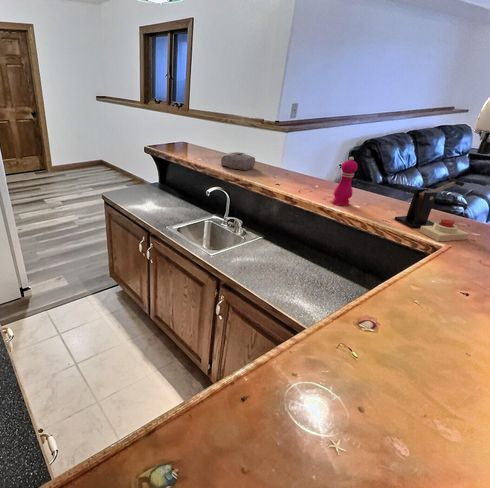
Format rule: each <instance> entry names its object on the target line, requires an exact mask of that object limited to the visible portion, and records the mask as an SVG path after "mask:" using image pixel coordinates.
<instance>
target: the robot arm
mask: <svg viewBox="0 0 490 488" xmlns="http://www.w3.org/2000/svg"><path fill="white" fill-rule="evenodd" d="M474 128H475V129H474V131H473V132H474V133H475V134H477V135H478V136H479V141H480V143H479V146H478V148H477V151H476V154H480V155H489V154H490V97H488V98H487V99H486V100H485V103H484V104H483V105H482V108H481V110H480V113H479V114H478V116H477V119H476V121H475V124H474Z"/></svg>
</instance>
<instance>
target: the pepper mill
mask: <svg viewBox="0 0 490 488" xmlns="http://www.w3.org/2000/svg"><path fill="white" fill-rule="evenodd" d="M358 168H359V166H358V163H357V161H355V158H354V156H350V157H348V160H345V161H343V162H342V163H341V167H340V169H341V172H340V176H341V177H340V180H339V183H338V184H337V185H336V187H335V188H334V190H333V196H334V197H333V199H332V204H334V205H336V206H341V207H343V206H344V207H345V206H349V203H350V199H351V198H352V197H353V187H352V179H353V178H354V177H355V172H356V171H357V170H358Z"/></svg>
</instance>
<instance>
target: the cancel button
mask: <svg viewBox="0 0 490 488" xmlns="http://www.w3.org/2000/svg"><path fill="white" fill-rule="evenodd" d="M440 221H441V222H440V225H441V226H444V227H450V228H451V227H453V225H455V222H454V221H453V220H450V219H445V218H443V219H441V220H440Z"/></svg>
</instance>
